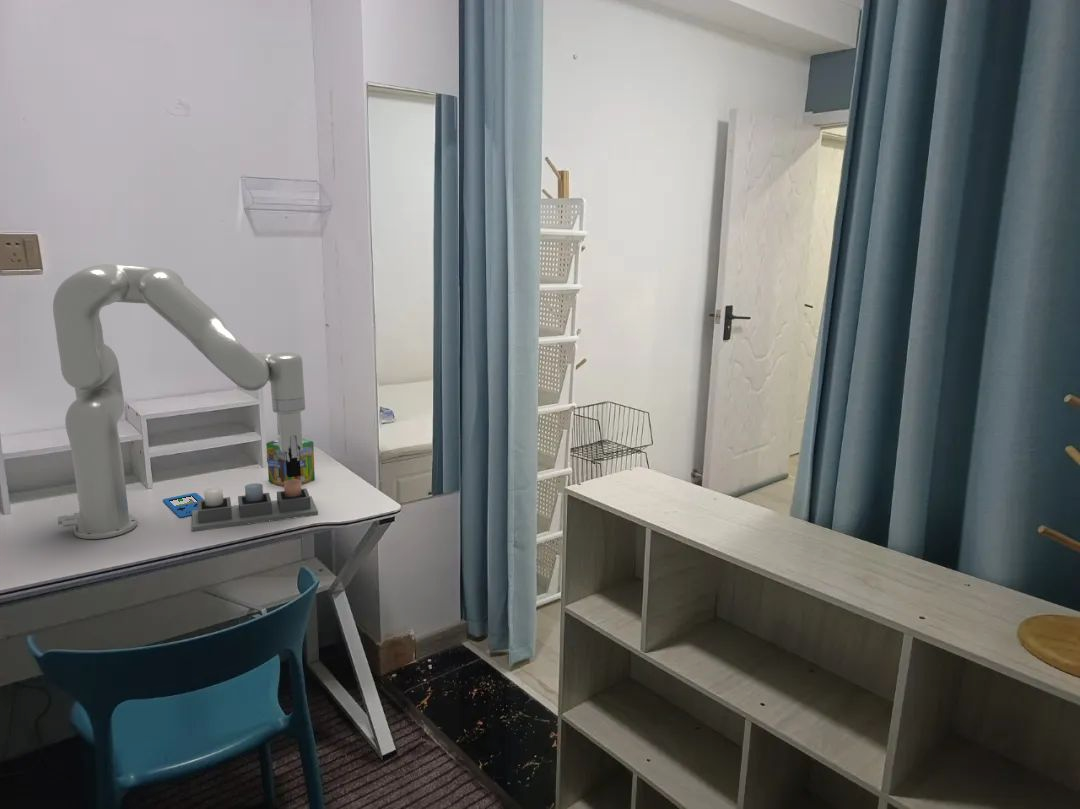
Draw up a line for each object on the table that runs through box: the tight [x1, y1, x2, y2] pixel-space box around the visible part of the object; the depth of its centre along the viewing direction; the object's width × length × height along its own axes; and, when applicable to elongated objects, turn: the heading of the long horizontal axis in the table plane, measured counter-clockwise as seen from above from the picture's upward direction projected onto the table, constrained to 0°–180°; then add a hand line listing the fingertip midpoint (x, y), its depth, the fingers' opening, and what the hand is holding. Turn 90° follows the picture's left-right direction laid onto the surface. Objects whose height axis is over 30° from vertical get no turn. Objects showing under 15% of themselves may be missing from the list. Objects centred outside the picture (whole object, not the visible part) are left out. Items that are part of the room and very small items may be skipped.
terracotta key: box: [283, 479, 302, 497], centre depth 179 cm, size 4×4×3 cm
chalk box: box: [265, 437, 316, 487], centre depth 199 cm, size 9×9×15 cm
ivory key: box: [203, 487, 224, 506], centre depth 172 cm, size 4×4×3 cm
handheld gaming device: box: [162, 492, 205, 519], centre depth 181 cm, size 8×1×15 cm
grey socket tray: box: [191, 487, 319, 532], centre depth 176 cm, size 28×11×4 cm, turn 115°
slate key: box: [244, 482, 264, 501], centre depth 176 cm, size 4×4×3 cm
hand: (293, 475), depth 179 cm, fingers closed
